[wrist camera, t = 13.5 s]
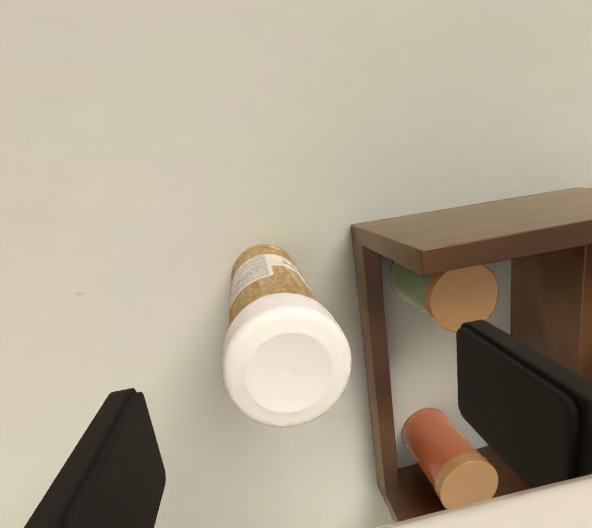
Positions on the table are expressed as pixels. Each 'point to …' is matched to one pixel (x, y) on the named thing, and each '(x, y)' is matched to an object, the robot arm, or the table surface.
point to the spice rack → (525, 303)
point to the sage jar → (448, 293)
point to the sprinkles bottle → (280, 343)
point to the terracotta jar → (449, 459)
